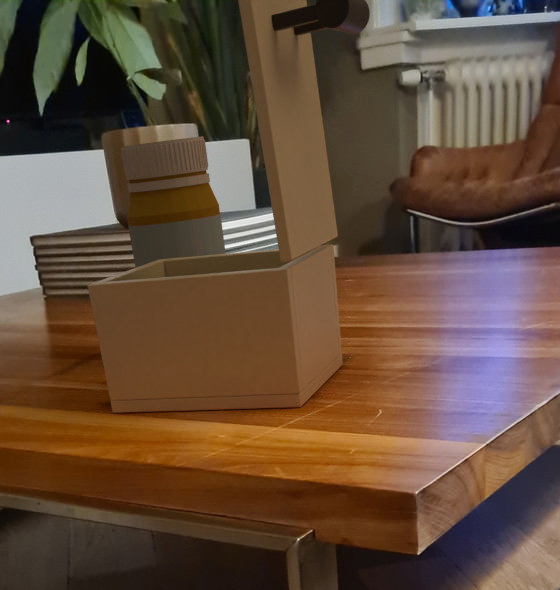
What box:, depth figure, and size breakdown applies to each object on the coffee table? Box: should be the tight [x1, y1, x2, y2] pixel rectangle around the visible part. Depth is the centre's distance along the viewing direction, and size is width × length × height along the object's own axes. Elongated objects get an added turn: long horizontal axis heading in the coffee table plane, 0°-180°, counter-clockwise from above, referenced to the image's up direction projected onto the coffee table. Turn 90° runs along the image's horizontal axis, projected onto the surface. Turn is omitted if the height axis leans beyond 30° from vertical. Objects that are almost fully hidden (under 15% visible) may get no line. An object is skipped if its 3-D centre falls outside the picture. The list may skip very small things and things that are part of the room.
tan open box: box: [87, 243, 344, 414], centre depth 59 cm, size 13×11×8 cm
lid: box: [238, 0, 371, 262], centre depth 51 cm, size 13×11×5 cm
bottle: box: [120, 136, 227, 268], centre depth 70 cm, size 7×7×15 cm
